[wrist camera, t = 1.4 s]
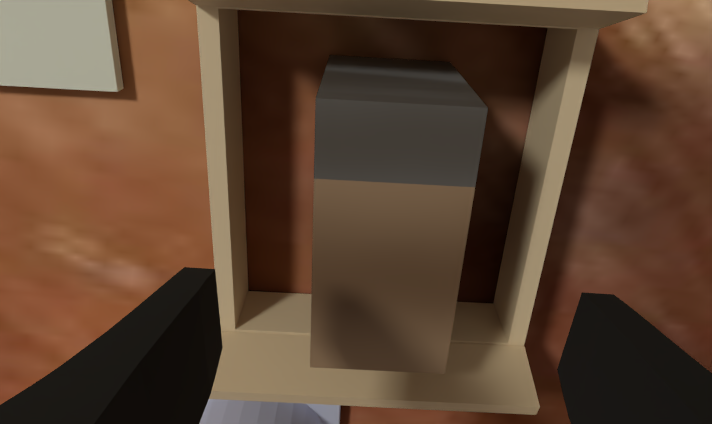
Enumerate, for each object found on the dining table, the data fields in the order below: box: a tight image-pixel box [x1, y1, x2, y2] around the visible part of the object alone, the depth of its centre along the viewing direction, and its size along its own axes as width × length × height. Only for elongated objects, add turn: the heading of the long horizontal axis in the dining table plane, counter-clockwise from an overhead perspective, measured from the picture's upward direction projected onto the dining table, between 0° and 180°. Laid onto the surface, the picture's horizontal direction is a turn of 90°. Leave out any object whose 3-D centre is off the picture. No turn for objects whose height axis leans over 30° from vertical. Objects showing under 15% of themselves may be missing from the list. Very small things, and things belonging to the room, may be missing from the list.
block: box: [310, 55, 488, 374], centre depth 17 cm, size 8×4×6 cm, turn 177°
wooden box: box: [189, 0, 648, 415], centre depth 17 cm, size 13×11×5 cm
